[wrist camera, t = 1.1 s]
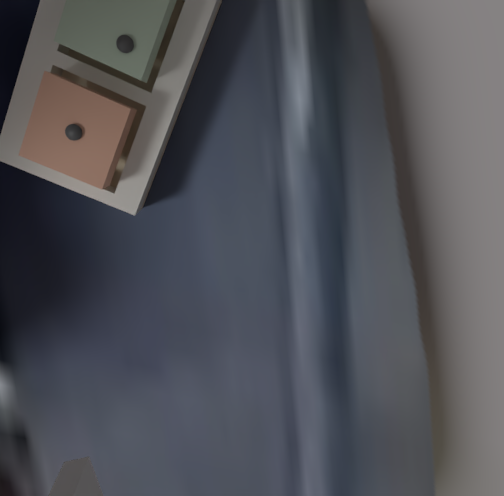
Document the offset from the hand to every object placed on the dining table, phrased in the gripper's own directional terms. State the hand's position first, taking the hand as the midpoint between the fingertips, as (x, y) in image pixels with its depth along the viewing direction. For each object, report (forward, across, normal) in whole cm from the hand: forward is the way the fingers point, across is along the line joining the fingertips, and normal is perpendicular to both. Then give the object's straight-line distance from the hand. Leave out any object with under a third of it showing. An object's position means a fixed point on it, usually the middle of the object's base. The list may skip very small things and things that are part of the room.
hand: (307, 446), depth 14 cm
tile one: (+23, -11, +11) cm, 28 cm away
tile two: (+23, -6, +18) cm, 30 cm away
